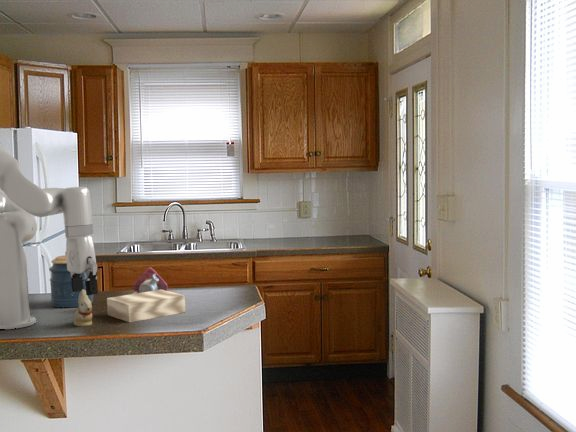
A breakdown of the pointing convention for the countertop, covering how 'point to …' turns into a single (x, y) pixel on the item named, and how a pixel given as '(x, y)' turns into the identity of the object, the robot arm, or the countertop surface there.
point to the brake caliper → (149, 282)
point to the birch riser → (145, 305)
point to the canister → (63, 285)
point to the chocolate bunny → (83, 310)
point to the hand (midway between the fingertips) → (85, 292)
